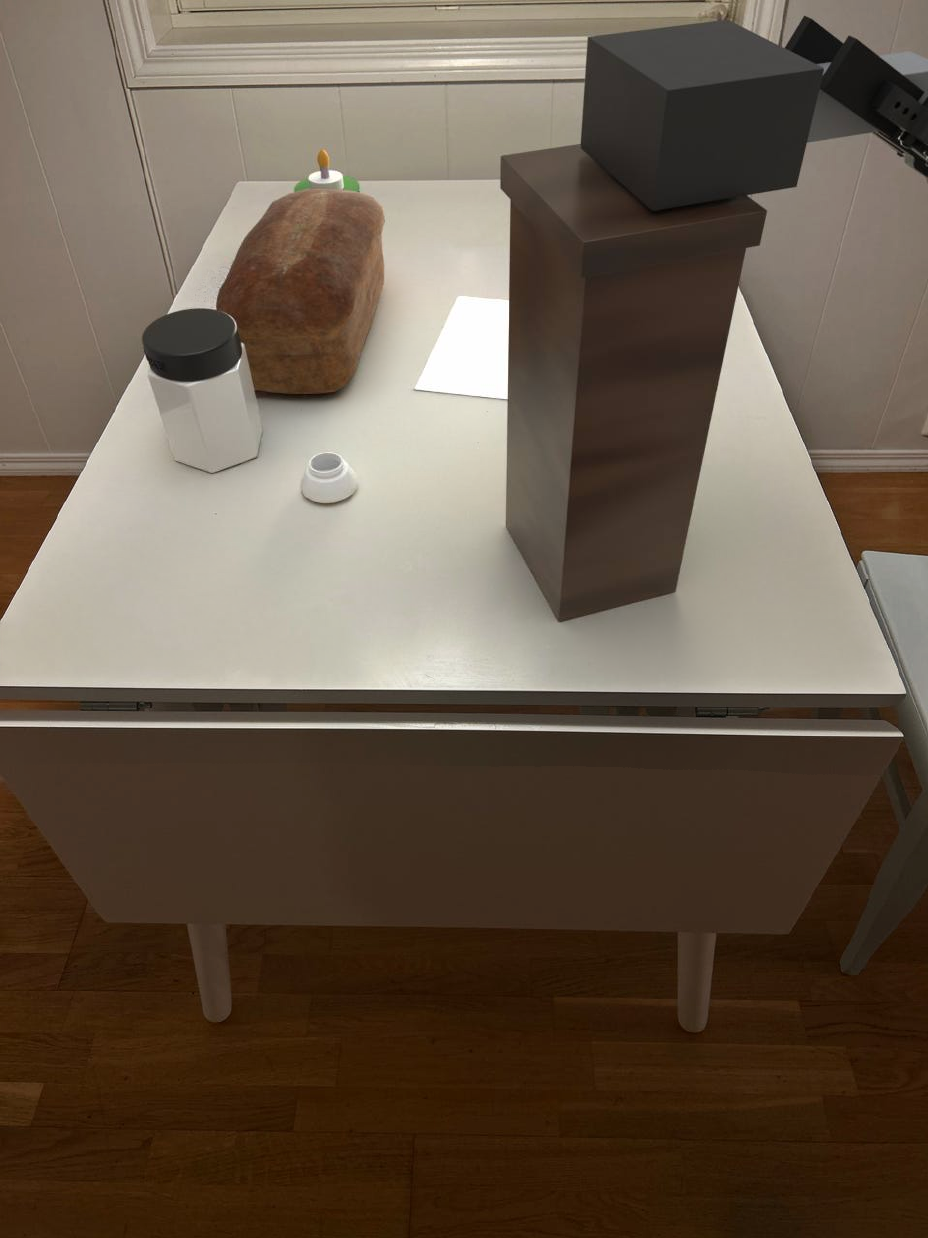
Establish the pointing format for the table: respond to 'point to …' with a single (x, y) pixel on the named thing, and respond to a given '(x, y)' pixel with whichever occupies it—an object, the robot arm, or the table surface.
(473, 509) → the table surface
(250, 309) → the bread
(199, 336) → the jar
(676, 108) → the sledgehammer head
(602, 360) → the stand
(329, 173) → the candle
